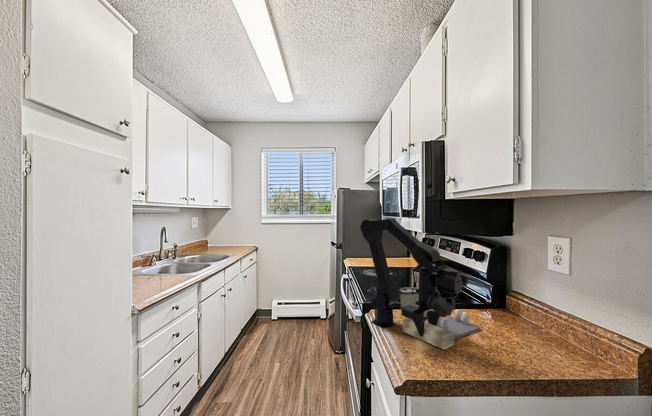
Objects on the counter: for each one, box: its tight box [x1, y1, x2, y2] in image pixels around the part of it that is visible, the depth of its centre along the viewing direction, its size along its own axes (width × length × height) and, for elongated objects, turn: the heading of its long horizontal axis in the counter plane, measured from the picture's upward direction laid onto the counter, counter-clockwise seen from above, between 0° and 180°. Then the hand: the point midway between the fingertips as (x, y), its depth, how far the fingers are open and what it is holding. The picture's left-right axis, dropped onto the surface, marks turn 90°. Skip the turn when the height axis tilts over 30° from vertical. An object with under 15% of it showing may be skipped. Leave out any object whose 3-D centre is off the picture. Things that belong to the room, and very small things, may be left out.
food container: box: [399, 286, 427, 317], centre depth 123 cm, size 12×6×10 cm, turn 84°
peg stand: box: [436, 309, 482, 340], centre depth 108 cm, size 12×16×5 cm
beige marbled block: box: [402, 317, 455, 351], centre depth 99 cm, size 16×5×4 cm, turn 35°
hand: (426, 334), depth 99 cm, fingers closed on beige marbled block, 5 cm apart
